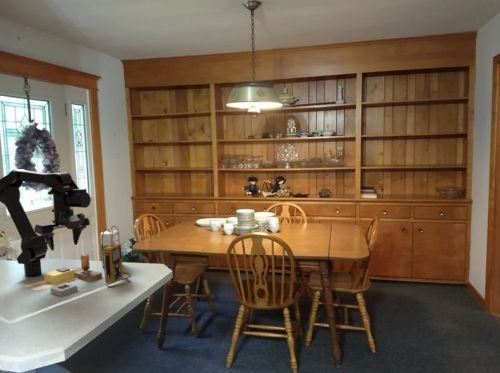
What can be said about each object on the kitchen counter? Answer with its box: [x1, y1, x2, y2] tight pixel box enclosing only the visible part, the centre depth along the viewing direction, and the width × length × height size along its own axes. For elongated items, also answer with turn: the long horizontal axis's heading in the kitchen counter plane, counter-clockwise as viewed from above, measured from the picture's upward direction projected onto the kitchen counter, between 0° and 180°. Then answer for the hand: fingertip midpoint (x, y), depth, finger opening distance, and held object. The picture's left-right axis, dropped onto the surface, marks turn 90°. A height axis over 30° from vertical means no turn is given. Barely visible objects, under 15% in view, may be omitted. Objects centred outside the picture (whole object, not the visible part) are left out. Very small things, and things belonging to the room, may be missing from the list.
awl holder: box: [49, 282, 79, 297], centre depth 132 cm, size 6×6×2 cm
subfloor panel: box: [24, 277, 79, 292], centre depth 142 cm, size 10×15×1 cm, turn 146°
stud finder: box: [44, 266, 75, 284], centre depth 144 cm, size 6×8×4 cm
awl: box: [80, 254, 91, 274], centre depth 146 cm, size 3×3×9 cm
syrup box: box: [99, 230, 120, 268], centre depth 161 cm, size 6×6×14 cm
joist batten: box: [71, 266, 103, 282], centre depth 147 cm, size 15×5×2 cm, turn 56°
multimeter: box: [102, 225, 132, 288], centre depth 143 cm, size 15×10×20 cm
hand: (64, 247), depth 146 cm, fingers open, 9 cm apart
